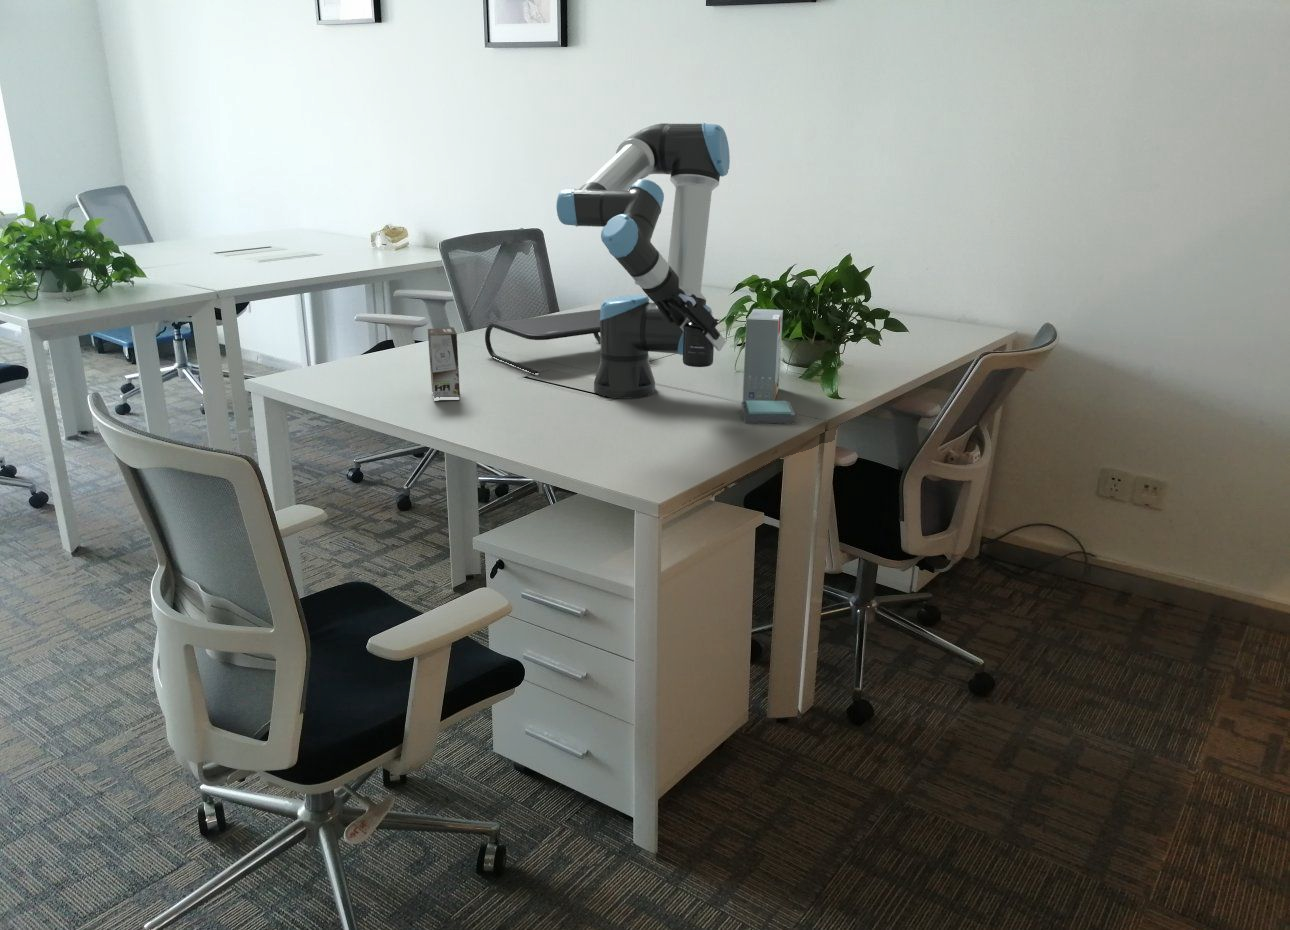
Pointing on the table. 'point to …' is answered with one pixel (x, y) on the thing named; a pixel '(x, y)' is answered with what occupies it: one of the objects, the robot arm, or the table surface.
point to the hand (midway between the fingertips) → (710, 343)
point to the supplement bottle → (696, 346)
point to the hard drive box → (762, 355)
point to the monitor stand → (547, 329)
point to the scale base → (767, 416)
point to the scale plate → (768, 407)
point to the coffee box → (444, 362)
